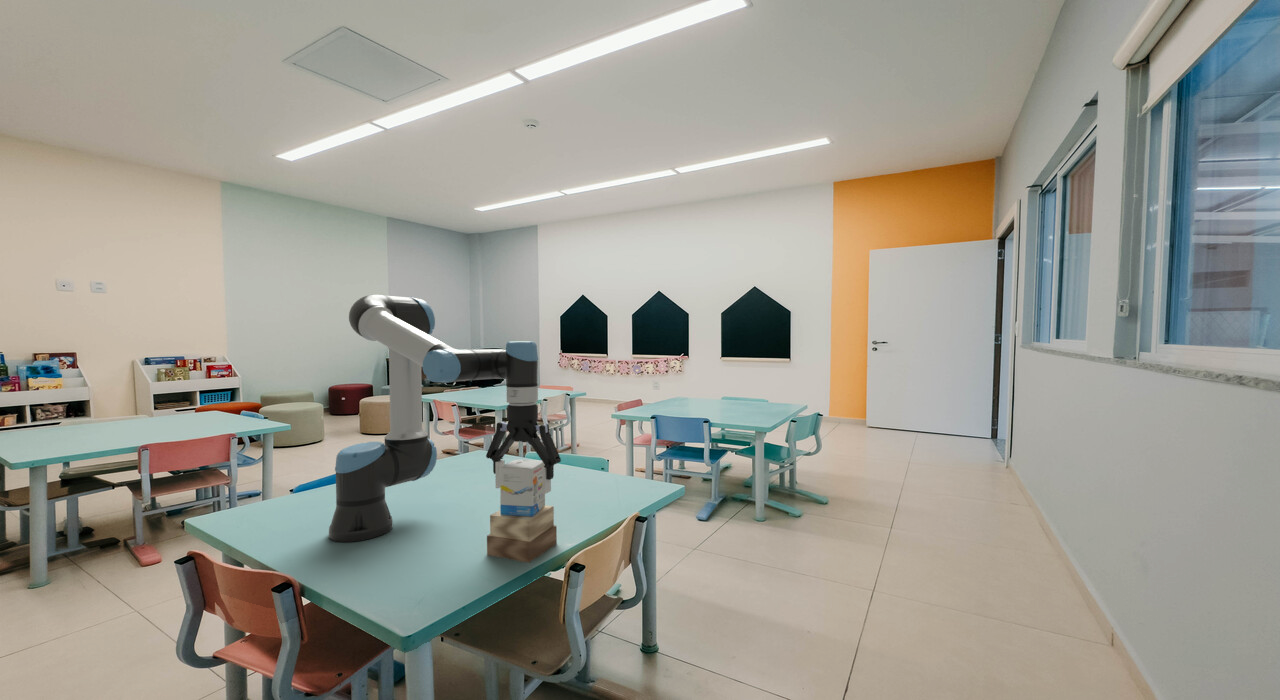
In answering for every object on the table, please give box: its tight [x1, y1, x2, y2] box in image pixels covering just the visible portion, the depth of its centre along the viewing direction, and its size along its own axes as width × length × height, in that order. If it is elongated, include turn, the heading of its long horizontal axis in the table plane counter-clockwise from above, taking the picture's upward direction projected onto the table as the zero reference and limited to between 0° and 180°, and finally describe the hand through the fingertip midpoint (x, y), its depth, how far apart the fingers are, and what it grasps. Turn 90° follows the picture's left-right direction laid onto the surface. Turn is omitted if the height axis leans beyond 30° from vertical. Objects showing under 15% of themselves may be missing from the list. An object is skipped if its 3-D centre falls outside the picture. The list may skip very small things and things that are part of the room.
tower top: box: [489, 504, 555, 542], centre depth 125 cm, size 11×11×5 cm
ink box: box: [499, 458, 546, 517], centre depth 125 cm, size 9×8×12 cm
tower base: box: [486, 525, 558, 563], centre depth 126 cm, size 12×12×5 cm
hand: (522, 489), depth 126 cm, fingers open, 13 cm apart
